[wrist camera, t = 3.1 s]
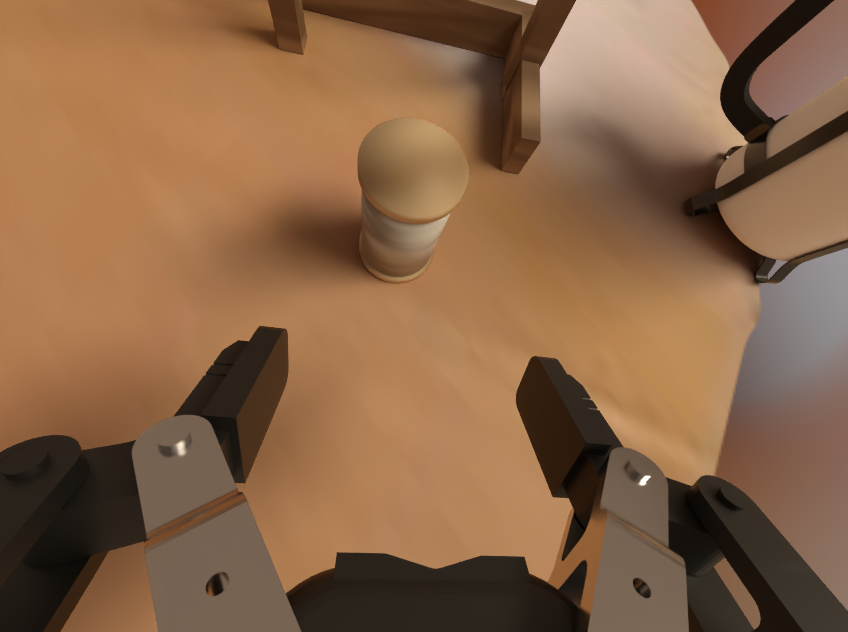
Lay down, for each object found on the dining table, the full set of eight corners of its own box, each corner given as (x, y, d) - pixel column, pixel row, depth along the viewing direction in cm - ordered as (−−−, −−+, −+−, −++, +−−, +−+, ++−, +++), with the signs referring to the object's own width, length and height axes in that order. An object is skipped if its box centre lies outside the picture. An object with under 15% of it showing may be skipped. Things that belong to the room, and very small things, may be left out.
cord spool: (344, 236, 27) (334, 143, 17) (405, 204, 28) (427, 102, 19) (386, 297, 26) (400, 235, 16) (445, 260, 28) (490, 184, 18)
